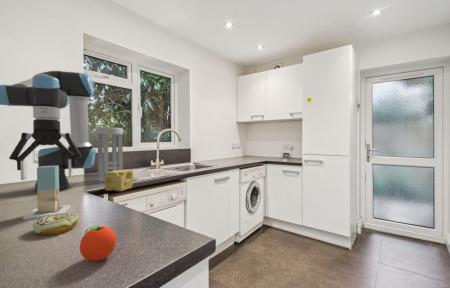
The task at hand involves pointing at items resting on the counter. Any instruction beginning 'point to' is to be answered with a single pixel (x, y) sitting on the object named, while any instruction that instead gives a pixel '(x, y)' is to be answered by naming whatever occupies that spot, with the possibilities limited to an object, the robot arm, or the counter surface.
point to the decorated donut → (55, 224)
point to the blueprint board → (46, 213)
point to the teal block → (47, 177)
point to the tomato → (97, 243)
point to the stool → (104, 162)
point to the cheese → (118, 180)
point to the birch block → (48, 200)
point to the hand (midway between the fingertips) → (48, 178)
